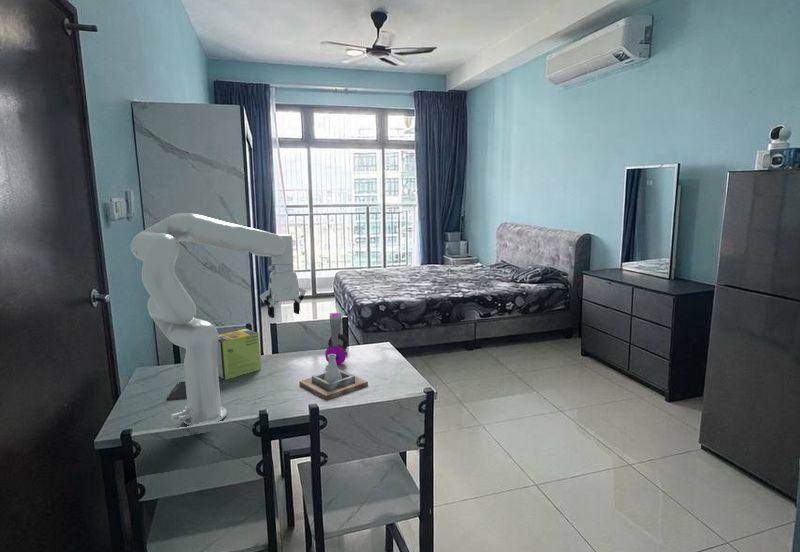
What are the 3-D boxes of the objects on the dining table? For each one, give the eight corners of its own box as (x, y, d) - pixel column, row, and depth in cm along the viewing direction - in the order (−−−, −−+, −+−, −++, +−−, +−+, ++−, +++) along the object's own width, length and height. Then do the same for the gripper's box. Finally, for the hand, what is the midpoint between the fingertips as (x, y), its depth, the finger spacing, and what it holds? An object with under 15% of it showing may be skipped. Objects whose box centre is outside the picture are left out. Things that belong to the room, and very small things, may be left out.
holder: (326, 399, 156) (325, 390, 156) (299, 385, 170) (299, 376, 169) (368, 385, 168) (367, 376, 168) (340, 372, 182) (339, 364, 181)
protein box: (261, 369, 187) (259, 332, 184) (225, 380, 176) (221, 341, 173) (248, 363, 194) (246, 328, 191) (212, 374, 183) (209, 336, 180)
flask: (338, 385, 164) (337, 359, 163) (319, 384, 166) (318, 358, 164) (345, 378, 171) (344, 352, 170) (327, 377, 173) (326, 351, 171)
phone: (200, 380, 174) (189, 396, 160) (200, 383, 174) (190, 399, 160) (178, 382, 173) (165, 398, 158) (178, 384, 173) (165, 401, 158)
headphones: (329, 351, 208) (327, 308, 205) (348, 350, 209) (347, 307, 206) (325, 367, 188) (322, 319, 185) (346, 366, 189) (344, 319, 185)
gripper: (263, 271, 156) (265, 320, 158) (309, 267, 167) (310, 313, 169) (255, 269, 162) (257, 317, 164) (299, 265, 173) (300, 310, 175)
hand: (284, 315), depth 167 cm, fingers open, 9 cm apart
